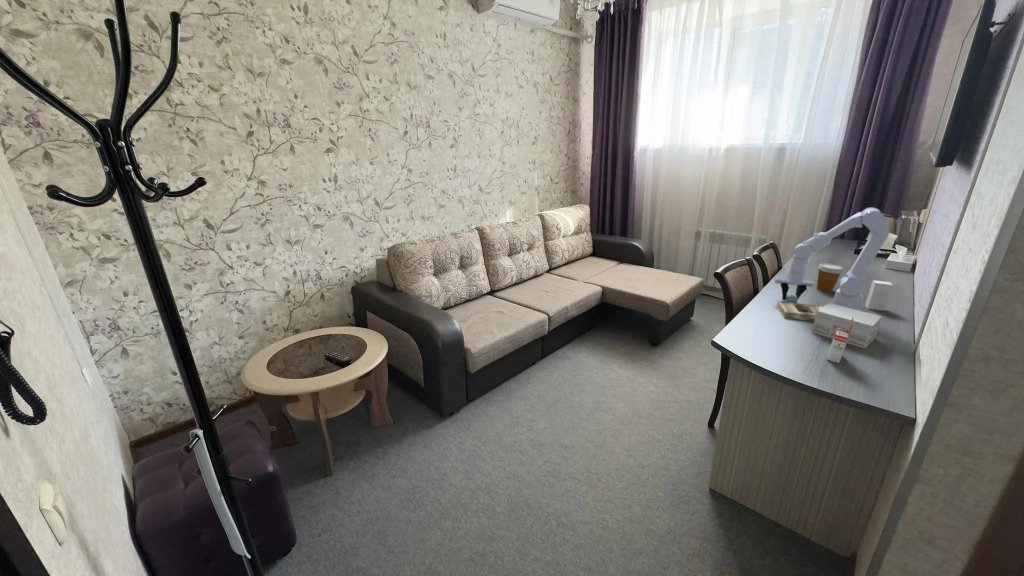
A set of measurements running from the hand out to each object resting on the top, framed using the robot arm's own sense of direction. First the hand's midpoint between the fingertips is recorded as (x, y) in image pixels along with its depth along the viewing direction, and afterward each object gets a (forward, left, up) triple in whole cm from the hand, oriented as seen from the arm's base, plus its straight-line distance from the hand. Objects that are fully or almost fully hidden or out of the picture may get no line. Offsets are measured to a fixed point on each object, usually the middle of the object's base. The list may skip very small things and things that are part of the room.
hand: (789, 299), depth 184 cm
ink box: (-2, +49, -2) cm, 49 cm away
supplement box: (-11, +29, -2) cm, 31 cm away
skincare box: (-34, -6, -2) cm, 35 cm away
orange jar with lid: (-21, -25, -2) cm, 33 cm away
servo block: (0, 0, -2) cm, 2 cm away
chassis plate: (-2, +12, -2) cm, 12 cm away
